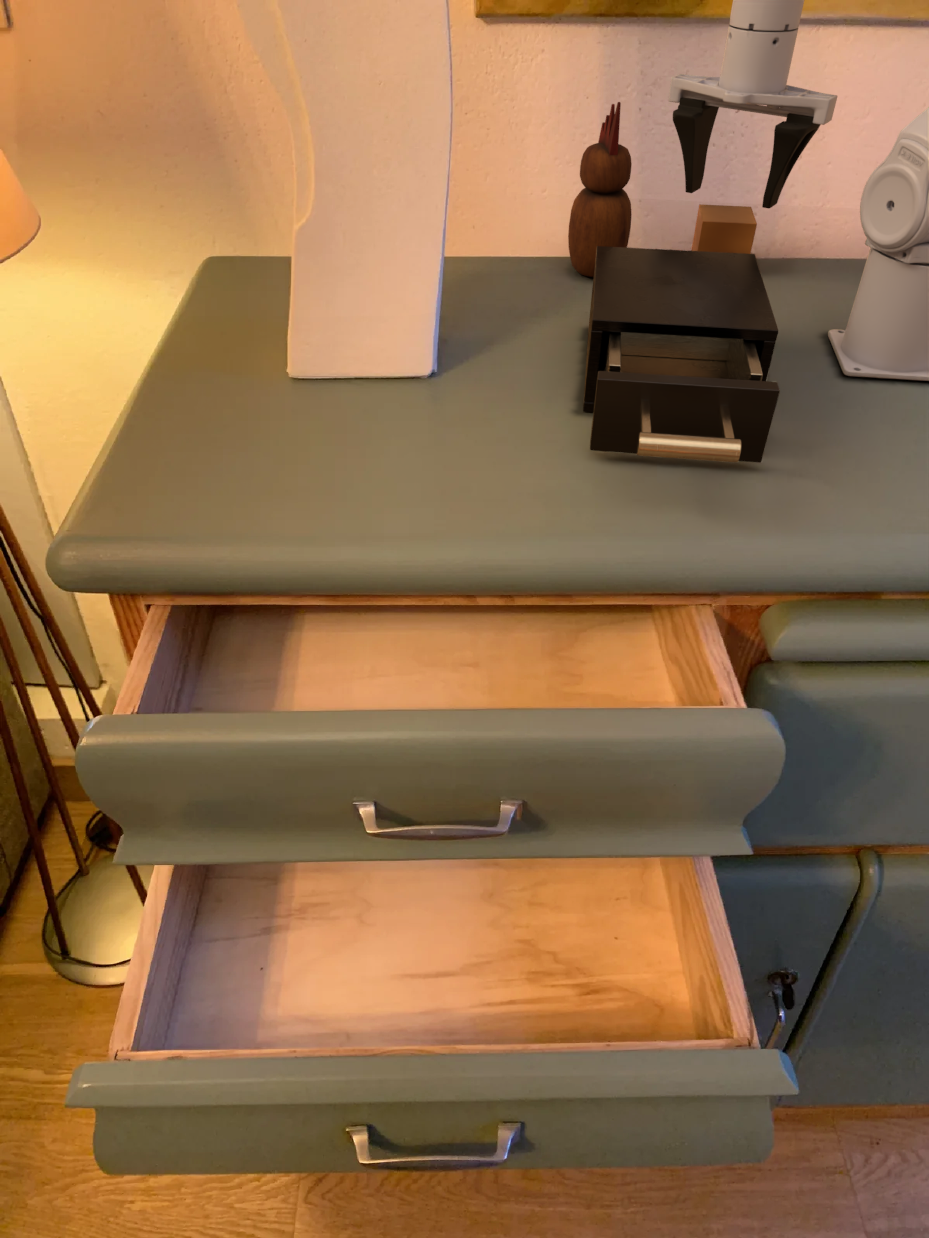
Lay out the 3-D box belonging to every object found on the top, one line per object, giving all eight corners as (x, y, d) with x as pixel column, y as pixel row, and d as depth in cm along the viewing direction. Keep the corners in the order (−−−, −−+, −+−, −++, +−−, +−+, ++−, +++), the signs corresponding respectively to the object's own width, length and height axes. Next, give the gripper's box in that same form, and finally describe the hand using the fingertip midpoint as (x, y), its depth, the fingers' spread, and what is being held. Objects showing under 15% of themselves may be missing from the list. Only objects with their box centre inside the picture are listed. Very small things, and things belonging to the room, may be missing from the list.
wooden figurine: (622, 286, 84) (644, 108, 74) (561, 281, 85) (575, 104, 75) (627, 261, 89) (648, 90, 79) (569, 256, 90) (583, 87, 80)
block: (740, 258, 90) (751, 206, 87) (745, 277, 86) (757, 223, 83) (690, 256, 90) (699, 204, 87) (693, 274, 87) (702, 221, 83)
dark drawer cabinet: (755, 423, 65) (778, 330, 60) (582, 412, 66) (592, 319, 62) (736, 338, 76) (755, 254, 71) (588, 329, 77) (596, 246, 72)
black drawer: (771, 511, 55) (793, 436, 52) (587, 497, 56) (595, 423, 53) (741, 371, 69) (756, 304, 66) (594, 362, 70) (601, 296, 67)
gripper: (663, 24, 76) (641, 194, 85) (833, 43, 69) (790, 224, 78) (698, 13, 80) (674, 176, 89) (861, 30, 74) (817, 203, 83)
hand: (730, 197), depth 84 cm, fingers open, 7 cm apart
